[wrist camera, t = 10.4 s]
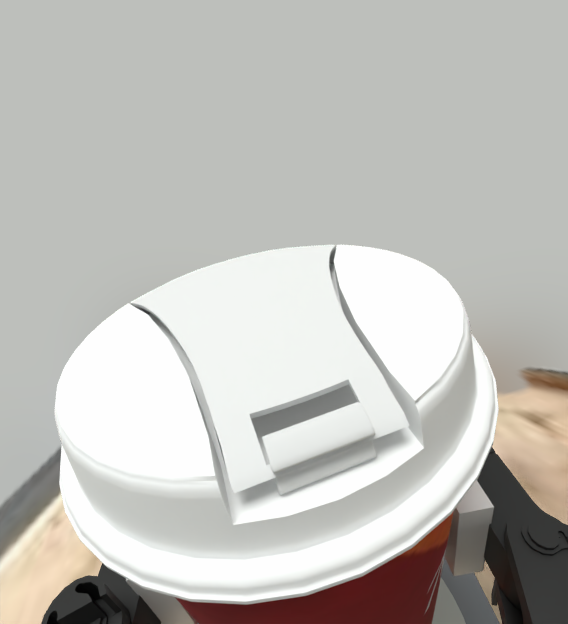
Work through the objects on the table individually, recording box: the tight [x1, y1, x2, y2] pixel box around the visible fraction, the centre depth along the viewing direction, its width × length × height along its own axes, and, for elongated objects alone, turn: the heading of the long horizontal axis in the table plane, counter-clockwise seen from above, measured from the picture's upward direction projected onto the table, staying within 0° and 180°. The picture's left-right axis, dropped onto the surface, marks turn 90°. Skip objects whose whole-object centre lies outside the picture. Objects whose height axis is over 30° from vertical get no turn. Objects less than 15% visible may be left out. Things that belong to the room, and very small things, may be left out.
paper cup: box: [54, 245, 498, 624], centre depth 10 cm, size 8×8×14 cm
